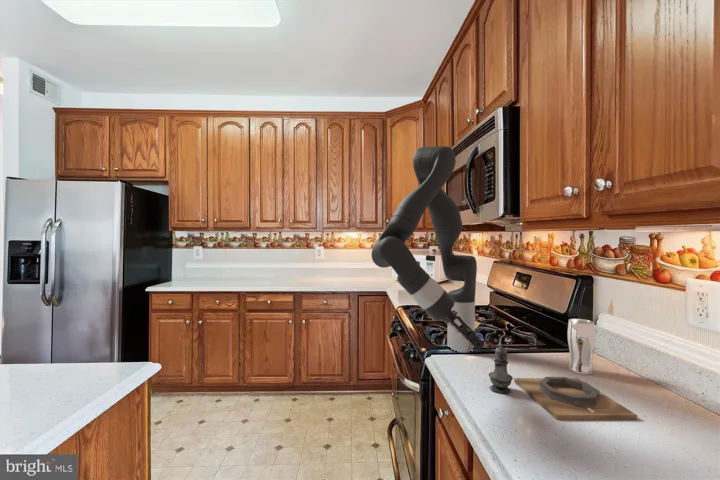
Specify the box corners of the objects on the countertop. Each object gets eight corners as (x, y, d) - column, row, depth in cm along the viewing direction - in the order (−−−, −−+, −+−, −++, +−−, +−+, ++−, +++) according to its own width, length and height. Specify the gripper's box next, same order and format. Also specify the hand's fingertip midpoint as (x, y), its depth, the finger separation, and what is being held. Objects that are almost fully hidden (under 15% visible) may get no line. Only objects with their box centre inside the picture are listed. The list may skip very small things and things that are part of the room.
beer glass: (584, 376, 101) (585, 324, 101) (561, 368, 107) (562, 319, 107) (599, 373, 104) (600, 322, 103) (576, 365, 110) (577, 317, 110)
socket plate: (514, 381, 97) (514, 370, 97) (577, 381, 97) (578, 371, 97) (556, 419, 77) (557, 406, 77) (637, 419, 77) (637, 406, 77)
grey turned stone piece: (486, 391, 90) (487, 345, 90) (489, 383, 96) (490, 339, 95) (511, 396, 88) (512, 349, 87) (513, 387, 93) (514, 342, 93)
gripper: (450, 291, 84) (496, 340, 84) (435, 283, 98) (475, 325, 98) (427, 313, 84) (474, 362, 84) (416, 302, 98) (456, 343, 98)
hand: (475, 342), depth 91 cm, fingers open, 8 cm apart
